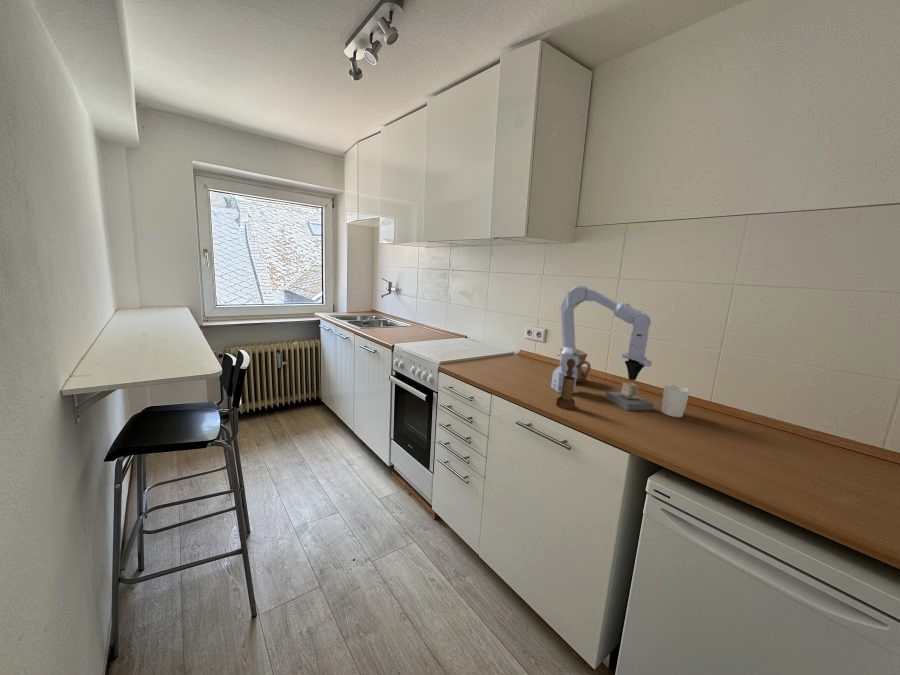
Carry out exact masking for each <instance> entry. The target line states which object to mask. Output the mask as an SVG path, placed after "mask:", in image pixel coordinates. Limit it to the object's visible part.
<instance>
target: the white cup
mask: <svg viewBox="0 0 900 675" xmlns="http://www.w3.org/2000/svg"><path fill="white" fill-rule="evenodd" d="M689 395H690V389H689V388H687V387H683V386H680V385H674V384H666V385H664V388H663V394H662V403H661V404H662V406H661V413H662V414H664V415H667V416H670V417H674V418H682V417H683V415H684V412H685V409H686V405H687V402H688V399H689Z"/></svg>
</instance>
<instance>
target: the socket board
mask: <svg viewBox="0 0 900 675" xmlns="http://www.w3.org/2000/svg"><path fill="white" fill-rule="evenodd" d="M621 392H622V391H619V392H617V391H615V392H614V391H606V393H605V399H607V400H608V401H610V402H612V403H614V404H615V405H617V406H618V407H620V408H622V409H624V410H625V411H652V410H653V408H654V403H653V402H650V401H648V400H647V399H645V398H642V397H640V396H638V395H637V400H626V399H624V398H622V397H621Z"/></svg>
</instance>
